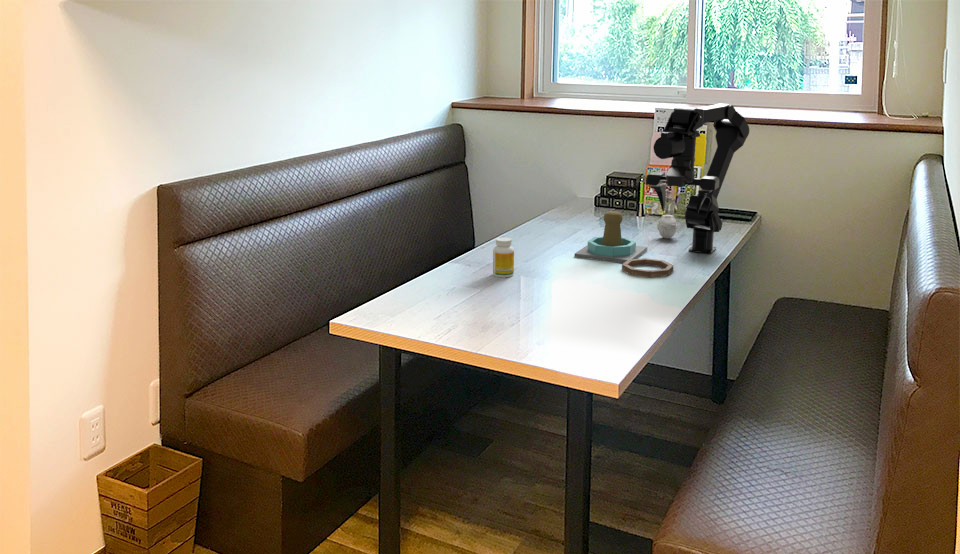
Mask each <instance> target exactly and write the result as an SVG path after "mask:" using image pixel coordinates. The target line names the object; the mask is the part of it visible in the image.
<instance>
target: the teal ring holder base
mask: <svg viewBox="0 0 960 554" xmlns="http://www.w3.org/2000/svg"><path fill="white" fill-rule="evenodd" d="M621 238H622V246H605V245H602V240H603V236H593V237H592V238H590V239H589V240H587V245H585V246H584V247H583V248H581V249H579V250H578V251H576V252H575V253H574V255H573V256H574V258H578V259H579V258H581V259H588V260H597V261H605V262H606V261H607V262H610V263H612V262H613V263H620V264H623V263H624V262H626V261H627V260H630V259H639V258H641V256H643V255H644V254H645V253H646V252H647V251H648V246H641V245H637V243H636V241H635V240H633V239H631V238H629V237H624V236H623V237H622V236H621Z"/></svg>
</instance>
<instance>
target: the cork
mask: <svg viewBox="0 0 960 554" xmlns="http://www.w3.org/2000/svg"><path fill="white" fill-rule="evenodd" d="M603 221H604V224H605V225H604V230H603V235H602V237H603V240H602V245H605V246H622V238H621V237H622V229H621V228H622V227H621V224H622V222H623V214H622V213H621V212H620V211H615V210H611V211H606V212H605V213H604V214H603Z"/></svg>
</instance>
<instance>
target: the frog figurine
mask: <svg viewBox="0 0 960 554" xmlns="http://www.w3.org/2000/svg"><path fill="white" fill-rule="evenodd" d="M656 228H657V229H656V230H658V233H659V235H660V236H661V237H662V238H664V239H672V238H673V237H674V236H675V235H676V232H677V230H678V229H679V226H678V224H677V220H676V218H675V216H674V215H670V214H661V217H660V219H659V220H658V223H657V225H656Z"/></svg>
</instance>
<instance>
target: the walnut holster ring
mask: <svg viewBox="0 0 960 554" xmlns="http://www.w3.org/2000/svg"><path fill="white" fill-rule="evenodd" d="M637 266H653V267H661V269H660V268H659V269H651V270H649V269H641V268H635V267H637ZM674 267H675V266H674V264H673V263H670V262H668V261H666V260H663V259H658V258H657V259H656V258H649V257H648V258H646V257H643V258H641V257H640V258H637V259H630V260H627V261H626V262H624V263H621V270H622V271H623V272H625V273H626V274H628V275H630V276H636V277H645V278H658V277H660V278H661V277H668V276H669V275H670V274H671V273H673V272H674Z"/></svg>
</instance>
